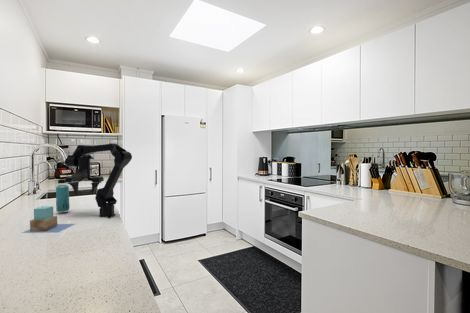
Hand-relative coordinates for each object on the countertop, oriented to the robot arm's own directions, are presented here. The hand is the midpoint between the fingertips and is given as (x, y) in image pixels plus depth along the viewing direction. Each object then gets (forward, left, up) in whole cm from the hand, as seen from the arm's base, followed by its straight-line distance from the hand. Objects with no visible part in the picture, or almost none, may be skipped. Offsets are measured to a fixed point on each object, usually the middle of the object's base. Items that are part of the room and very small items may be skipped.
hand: (84, 194), depth 134 cm
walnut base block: (+4, +25, -11) cm, 28 cm away
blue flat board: (+2, +24, -12) cm, 27 cm away
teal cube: (+4, +25, -6) cm, 26 cm away
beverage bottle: (+16, -5, -12) cm, 21 cm away
